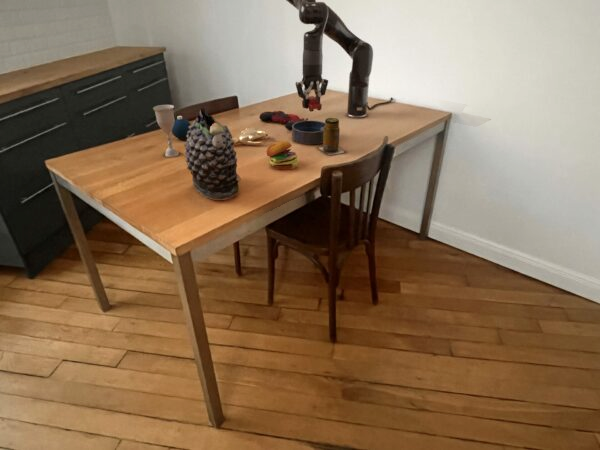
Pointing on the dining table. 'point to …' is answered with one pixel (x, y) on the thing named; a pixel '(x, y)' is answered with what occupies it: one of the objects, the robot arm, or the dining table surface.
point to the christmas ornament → (181, 128)
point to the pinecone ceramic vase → (211, 158)
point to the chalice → (166, 125)
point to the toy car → (313, 103)
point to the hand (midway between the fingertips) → (311, 107)
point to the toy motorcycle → (281, 118)
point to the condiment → (331, 137)
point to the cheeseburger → (282, 155)
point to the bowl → (308, 132)
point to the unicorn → (250, 136)
